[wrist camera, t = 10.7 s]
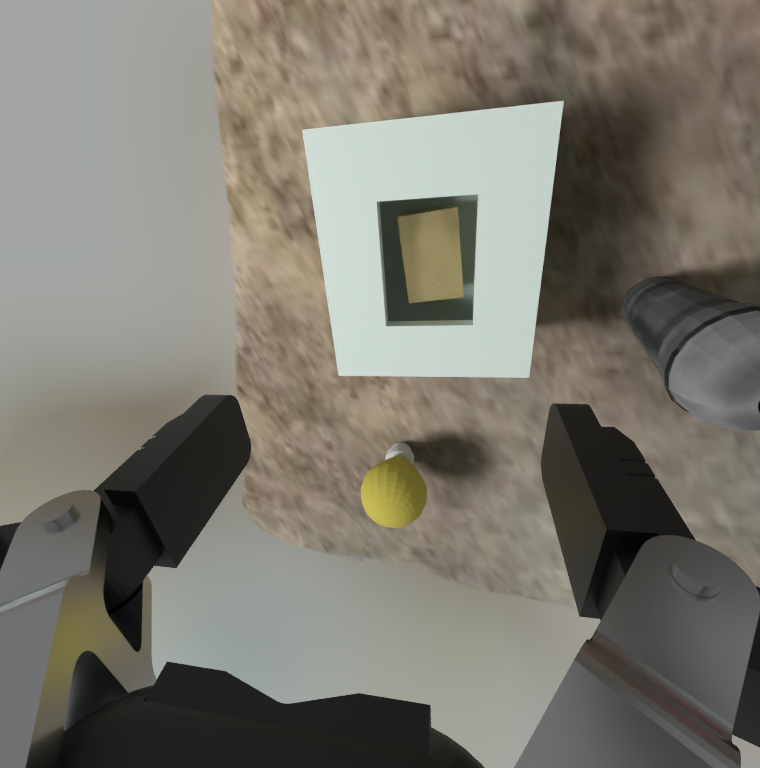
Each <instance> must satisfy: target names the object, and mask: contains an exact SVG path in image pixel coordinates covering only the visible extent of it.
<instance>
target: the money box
mask: <svg viewBox="0 0 760 768" xmlns="http://www.w3.org/2000/svg"><path fill="white" fill-rule="evenodd" d="M563 103H564V101H557V102H548V103H539V104H530V105H521V106H512V107H503V108H494V109H485V110H476V111H467V112H458V113H449V114H440V115H432V116H423V117H414V118H405V119H396V120H387V121H378V122H369V123H360V124H351V125H342V126H333V127H324V128H315V129H306V130H302V131H303V138H304V145H305V152H306V158H307V165H308V172H309V179H310V185H311V192H312V199H313V206H314V212H315V219H316V226H317V233H318V239H319V246H320V253H321V260H322V266H323V273H324V280H325V287H326V293H327V300H328V307H329V314H330V320H331V327H332V334H333V341H334V347H335V354H336V361H337V368H338V374H339V376H419V377H515V378H529V374H530V366H531V358H532V350H533V342H534V334H535V326H536V318H537V310H538V302H539V294H540V286H541V278H542V270H543V262H544V254H545V246H546V238H547V230H548V223H549V215H550V207H551V199H552V191H553V183H554V175H555V167H556V159H557V151H558V143H559V135H560V127H561V119H562V111H563ZM454 202H457V203H458V218H459V232H460V247H461V262H462V276H463V291H464V297H461V298H452V299H443V300H435V301H426V302H417V303H409V300H408V293H407V285H406V278H405V271H404V264H403V256H402V249H401V242H400V235H399V228H398V220H397V217H398V216H399V215H400V214H401V213H402V212H403V211H407V210H413V209H419V208H425V207H431V206H437V205H443V204H449V203H454Z"/></svg>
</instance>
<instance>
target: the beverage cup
mask: <svg viewBox="0 0 760 768" xmlns="http://www.w3.org/2000/svg"><path fill="white" fill-rule="evenodd" d="M621 315H622V317H623V319H624V321H625V322H626V324H627V326H628V328H629V330H630V331H631V333H632V334H633V335H634V337H635V338H636V340H637V341H638V342H639V344H640V345H641V347H642V348H643V349H644V351H645V352H646V354H647V355H648V356H649V358H650V359H651V361H652V362H653V363H654V365H655V366H656V368H657V369H658V371H659V373H660V375H661V378H662V380H663V382H664V386H665V388H666V390H667V392H668V394H669V396H670V398H671V400H672V401H673V402H675V403H676V404H677V405H678V406H680V407H681V408H682V409H683V410H685V411H687V412H690V413H691V414H692V415H694V416H695V417H697V418H699V419H700V420H703V421H706V422H708V423H711V424H714V425H717V426H720V427H723V428H726V429H732V430H745V431H759V430H760V305H755V304H750V303H739V302H736V301H733V300H731V299H728V298H725V297H722V296H719V295H716V294H713V293H710V292H708V291H705V290H702V289H699V288H696V287H693V286H690V285H687V284H684V283H682V282H679V281H676V280H670V279H667V278H660V277H655V278H651V279H647V280H644V281H642V282H640V283H638V284H636V285H635V286H634V287H633V288H632V289H631V290H629V291H628V293H627V294H626V296H625V297H624V299H623V302H622V305H621Z"/></svg>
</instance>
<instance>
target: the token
mask: <svg viewBox="0 0 760 768" xmlns="http://www.w3.org/2000/svg"><path fill="white" fill-rule="evenodd" d="M397 220H398V228H399V235H400V242H401V249H402V256H403V264H404V271H405V278H406V285H407V293H408V300H409V303H417V302H426V301H435V300H443V299H452V298H461V297H464V291H463V276H462V262H461V247H460V232H459V218H458V203H457V202H454V203H449V204H443V205H437V206H431V207H425V208H419V209H413V210H407V211H403V212H402V213H401V214H400V215H399V216H398V217H397Z"/></svg>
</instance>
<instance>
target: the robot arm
mask: <svg viewBox="0 0 760 768" xmlns="http://www.w3.org/2000/svg"><path fill="white" fill-rule="evenodd" d="M250 453H251V442H250V438H249V435H248V432H247V428H246V425H245V422H244V418H243V415H242V412H241V409H240V405H239V402H238V400H237V399H236V398H235V397H234V396H232V395H204V396H202V397H201V398H199V399H198V400H197V401H196V402H195V403H194V404H193V405H192V406H191V407H190V408H189V409H188V410H187V411H186V412H185V413H184V414H182V415H180V416H178V417H177V418H175V419H173V420H171V421H170V422H168V423H167V424H165V425H164V426H163V427H162V428H161V429H160V430H159V431H158V432H157V433H156V434H155V435H153V438H152V439H149V440H148V441H147V442H146V443H145V444H144V445H143V446H142V447H141V450H137V451H136V452H135V453H134V454H133V455H132V456H131V457H130V458H129V459H127V460H126V461H125V462H124V463H123V464H122V465H121V466H120V467H119V468H118V469H117V470H116V471H114V472H113V473H112V474H111V475H110V476H109V477H108V478H107V479H106V480H105V481H104V482H103V483H101V484H100V485H99V487H97V488H96V489H95V490H94V491H91V490H81V491H74V492H70V493H67V494H64V495H61V496H59V497H56V498H54V499H52V500H50V501H48V502H47V503H45V504H43V505H42V506H40V507H38V508H37V509H36V510H34V511H33V512H32V513H30V514H29V515H28V516H27V517H26V518H25V519H24V520H23V521H22V522H20V523H14V524H9V525H3V526H0V768H484V767H483V766H482V764H481V763H479V762H478V761H477V760H476V759H475V758H474V757H473V756H472V755H471V754H470V753H469V752H468V751H467V750H465V749H464V748H463V747H462V746H460V745H459V744H458V743H456V742H455V741H453V740H452V739H451V738H449V737H448V736H446V735H444V734H442V733H441V732H439V731H437V730H435V729H433V728H431V710H430V705H427V704H420V703H415V702H408V701H402V700H396V699H390V698H384V697H377V696H371V695H366V694H360V693H358V694H352V695H345V696H338V697H332V698H325V699H319V700H312V701H305V702H299V703H292V704H284V703H280V702H277V701H275V700H274V699H272V698H270V697H269V696H267V695H265V694H263V693H262V692H260V691H258V690H257V689H255V688H253V687H251V686H250V685H248V684H246V683H245V682H242V681H241V680H240V679H238V678H236V677H234V676H232V675H231V674H229V673H228V672H225V671H220V670H214V669H208V668H202V667H196V666H190V665H184V664H178V663H172V662H167V663H166V665H165V666H164V668H163V670H162V671H161V673H160V675H159V677H158V679H157V680H156V677H155V675H154V671H153V666H152V657H151V595H152V593H151V589H152V588H151V587H152V586H151V581H150V579H149V577H148V575H147V574H148V573H149V572H150V570H151V569H152V568H153V566H162V567H171V568H177V566H178V565H179V563H180V562H181V560H182V558H183V557H184V556H185V554H186V553H187V551H188V550H189V548H190V547H191V545H192V544H193V543H194V541H195V540H196V538H197V537H198V535H199V534H200V532H201V531H202V529H203V528H204V526H205V525H206V523H207V522H208V520H209V519H210V518H211V516H212V514H213V513H214V512H215V510H216V508H217V507H218V505H219V504H220V503H221V501H222V500H223V498H224V497H225V495H226V494H227V492H228V491H229V489H230V488H231V486H232V485H233V484H234V482H235V481H236V479H237V478H238V476H239V475H240V473H241V472H242V470H243V469H244V467H245V466H246V464H247V463H248V460H249V458H250ZM541 471H542V479H543V484H544V487H545V491H546V495H547V498H548V502H549V506H550V509H551V513H552V517H553V520H554V524H555V528H556V532H557V535H558V539H559V543H560V546H561V550H562V554H563V557H564V561H565V565H566V568H567V572H568V576H569V579H570V583H571V587H572V590H573V594H574V598H575V601H576V605H577V609H578V612H579V616H580V617H590V618H598V619H600V620H601V622H600V624H599V625H598V627H597V629H596V631H595V633H594V634H593V636H592V638H591V639H590V640H586V642H585V643H584V644H583V646H582V648H581V649H580V651H579V652H578V654H577V656H576V658H575V660H574V661H573V663H572V665H571V667H570V668H569V670H568V672H567V674H566V676H565V677H564V680H563V681H562V683H561V685H560V686H559V688H558V690H557V692H556V694H555V695H554V697H553V699H552V701H551V703H550V704H549V706H548V708H547V710H546V712H545V713H544V715H543V717H542V719H541V721H540V723H539V724H538V726H537V728H536V730H535V731H534V733H533V735H532V737H531V738H530V741H529V742H528V744H527V746H526V747H525V749H524V751H523V753H522V755H521V757H520V758H519V760H518V762H517V764H516V765H515V767H514V768H740V767H741V756H740V751H739V749H738V747H737V746H735V745H734V744H732V735H735V736H737V737H739V738H741V739H743V740H745V741H748V742H749V743H752V744H754V745H756V746H758V747H760V588H759V587H757V586H755V585H754V583H753V582H752V580H751V579H750V578H749V576H748V575H747V574H746V573H745V572H744V571H743V570H742V569H741V568H740V567H739V566H738V565H737V564H736V563H735V562H733V561H732V560H731V559H730V558H728V557H727V556H725V555H724V554H722V553H721V552H719V551H718V550H716V549H714V548H712V547H710V546H708V545H706V544H703V543H701V542H699V541H696V540H695V538H694V537H693V535H692V534H691V532H690V530H689V529H688V527H687V526H686V524H685V522H684V521H683V519H682V518H681V516H680V514H679V513H678V511H677V510H676V508H675V507H674V505H673V503H672V502H671V500H670V499H669V497H668V495H667V494H666V492H665V491H664V489H663V487H662V486H661V484H660V483H659V481H658V479H655V475H654V473H653V472H652V470H651V468H650V467H649V465H648V464H646V463H645V459H644V457H643V456H642V454H641V452H640V451H639V449H638V448H637V446H636V445H635V443H634V442H633V441H632V440H630V439H629V438H628V437H627V436H625V435H624V434H623V433H621V432H620V431H619V430H617V429H616V428H615V427H601V425H600V424H599V422H598V420H597V418H596V416H595V414H594V412H593V411H592V409H591V407H590V406H589V405H587V404H552V405H551V407H550V410H549V415H548V421H547V427H546V433H545V439H544V445H543V451H542V459H541Z"/></svg>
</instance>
